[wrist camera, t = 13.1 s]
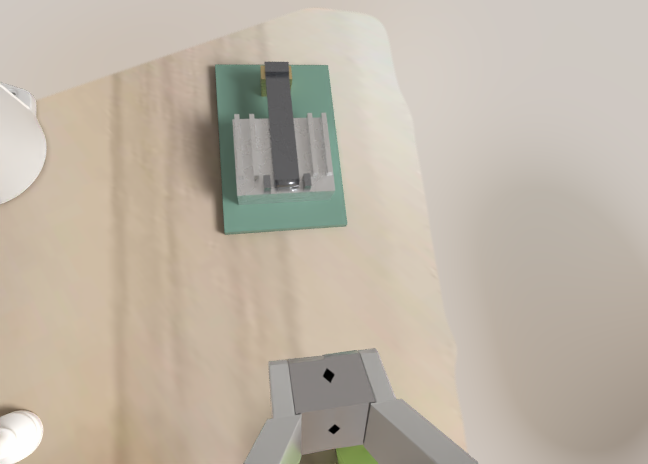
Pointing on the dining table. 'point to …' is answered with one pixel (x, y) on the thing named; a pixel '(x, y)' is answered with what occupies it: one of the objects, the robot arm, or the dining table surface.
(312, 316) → the dining table surface
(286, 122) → the block
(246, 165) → the silver and yellow blocks
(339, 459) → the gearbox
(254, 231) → the circuit board
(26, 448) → the chess pawn
